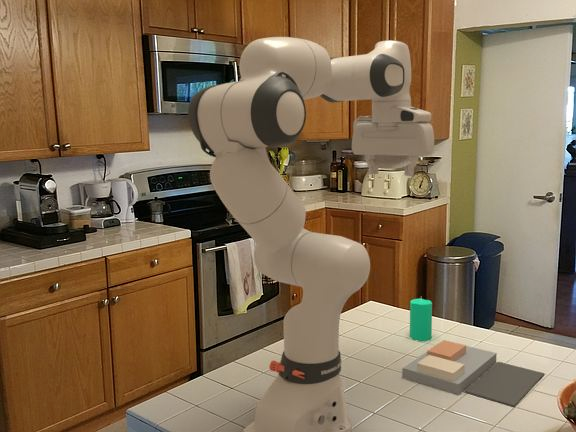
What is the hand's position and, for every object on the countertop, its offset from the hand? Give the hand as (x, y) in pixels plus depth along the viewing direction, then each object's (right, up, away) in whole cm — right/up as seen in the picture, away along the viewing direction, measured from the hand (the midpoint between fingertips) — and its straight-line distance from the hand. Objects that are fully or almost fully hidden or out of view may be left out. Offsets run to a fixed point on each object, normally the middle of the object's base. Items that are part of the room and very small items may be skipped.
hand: (391, 174), depth 133 cm
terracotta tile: (+15, -44, +8) cm, 48 cm away
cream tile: (+11, -46, -1) cm, 47 cm away
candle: (+13, -44, +27) cm, 54 cm away
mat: (+26, -48, -2) cm, 55 cm away
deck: (+16, -47, +6) cm, 50 cm away
